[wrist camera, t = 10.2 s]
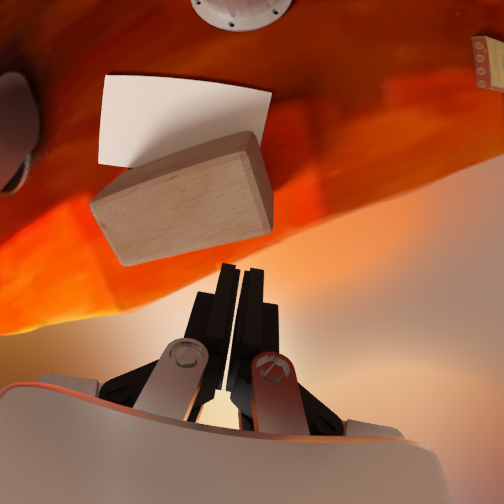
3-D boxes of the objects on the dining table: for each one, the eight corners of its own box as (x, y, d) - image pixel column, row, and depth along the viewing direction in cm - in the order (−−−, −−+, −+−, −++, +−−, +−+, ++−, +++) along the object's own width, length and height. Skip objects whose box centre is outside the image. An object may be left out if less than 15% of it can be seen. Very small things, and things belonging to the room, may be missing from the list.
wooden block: (247, 147, 27) (83, 204, 31) (275, 236, 32) (121, 271, 36) (254, 126, 35) (119, 173, 39) (275, 197, 40) (147, 230, 45)
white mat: (107, 75, 32) (105, 75, 32) (272, 92, 34) (272, 92, 33) (100, 162, 39) (98, 163, 38) (251, 187, 40) (251, 188, 40)
